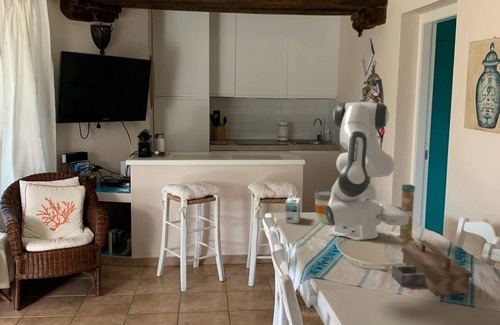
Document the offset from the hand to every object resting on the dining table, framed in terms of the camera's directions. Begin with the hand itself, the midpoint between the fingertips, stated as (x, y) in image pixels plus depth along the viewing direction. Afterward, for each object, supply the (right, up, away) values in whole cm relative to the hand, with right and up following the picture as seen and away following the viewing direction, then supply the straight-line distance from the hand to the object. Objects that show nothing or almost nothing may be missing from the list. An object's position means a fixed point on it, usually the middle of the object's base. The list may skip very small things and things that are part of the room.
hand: (409, 211), depth 177 cm
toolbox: (+7, -26, +6) cm, 27 cm away
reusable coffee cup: (-17, -13, +78) cm, 81 cm away
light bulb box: (-34, -13, +80) cm, 88 cm away
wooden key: (-1, -11, +2) cm, 12 cm away
